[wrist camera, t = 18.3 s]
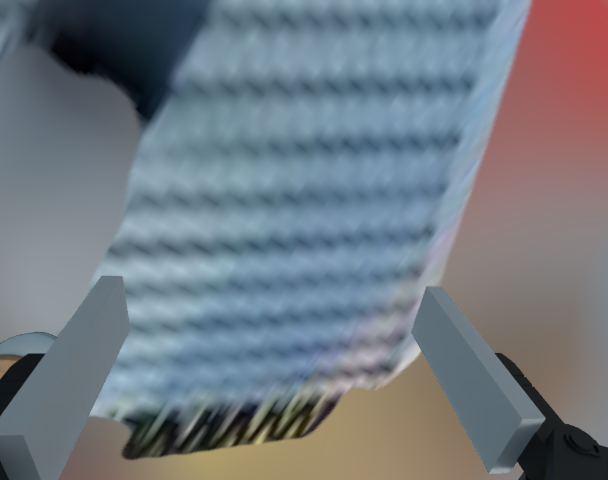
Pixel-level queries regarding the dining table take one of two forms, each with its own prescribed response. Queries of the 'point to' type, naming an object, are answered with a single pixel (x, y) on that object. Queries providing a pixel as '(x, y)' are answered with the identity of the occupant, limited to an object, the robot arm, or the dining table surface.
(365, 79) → the dining table surface
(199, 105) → the dining table surface
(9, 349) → the lidded jar
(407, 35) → the dining table surface
